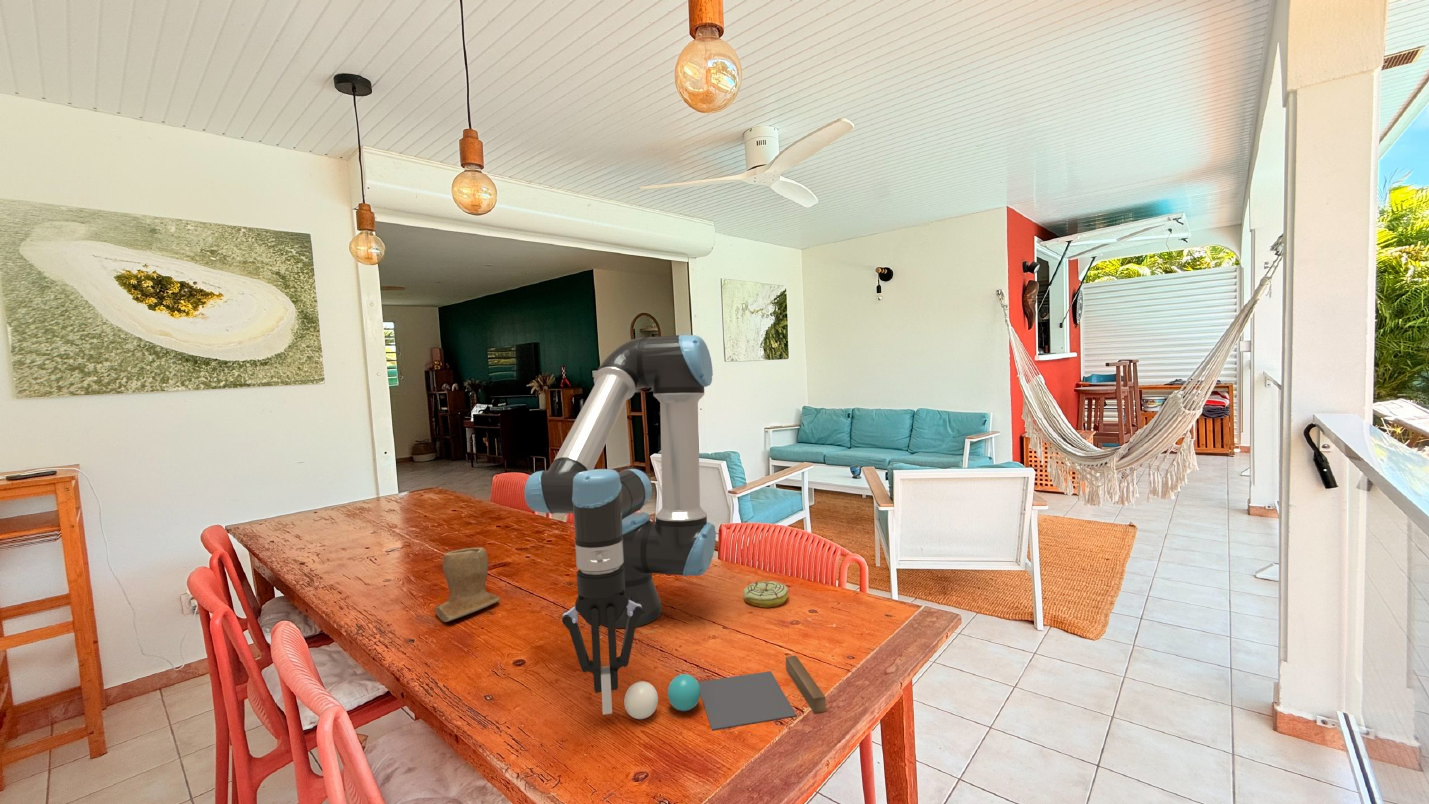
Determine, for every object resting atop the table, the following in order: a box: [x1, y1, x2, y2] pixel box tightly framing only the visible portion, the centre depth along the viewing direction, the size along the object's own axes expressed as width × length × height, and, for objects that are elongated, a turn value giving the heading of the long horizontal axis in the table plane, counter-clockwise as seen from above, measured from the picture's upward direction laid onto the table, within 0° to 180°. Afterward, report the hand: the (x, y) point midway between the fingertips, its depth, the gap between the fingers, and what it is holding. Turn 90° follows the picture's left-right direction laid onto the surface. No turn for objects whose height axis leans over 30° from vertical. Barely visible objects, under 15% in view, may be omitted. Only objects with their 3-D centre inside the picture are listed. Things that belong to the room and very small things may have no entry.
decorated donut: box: [743, 580, 789, 609], centre depth 138 cm, size 10×11×4 cm
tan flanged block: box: [434, 547, 501, 623], centre depth 138 cm, size 15×12×15 cm
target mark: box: [698, 670, 798, 731], centre depth 97 cm, size 14×14×1 cm
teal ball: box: [667, 673, 701, 712], centre depth 95 cm, size 6×6×6 cm
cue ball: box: [623, 680, 659, 720], centre depth 93 cm, size 6×6×6 cm
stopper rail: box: [785, 654, 827, 714], centre depth 99 cm, size 2×14×2 cm, turn 12°
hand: (607, 708), depth 92 cm, fingers closed
